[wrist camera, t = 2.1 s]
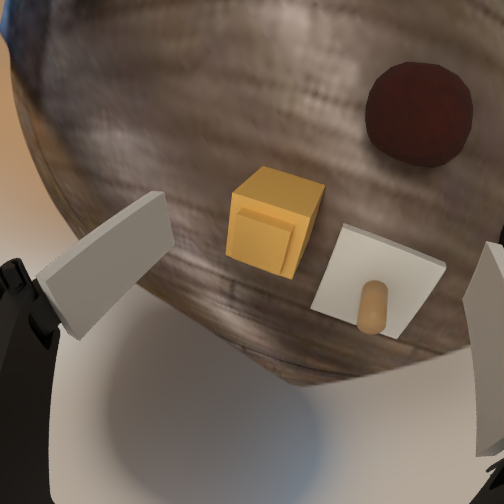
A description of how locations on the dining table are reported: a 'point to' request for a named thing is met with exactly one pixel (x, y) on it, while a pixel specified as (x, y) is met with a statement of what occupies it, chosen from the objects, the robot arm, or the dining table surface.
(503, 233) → the wine bottle
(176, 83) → the dining table surface
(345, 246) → the post plate
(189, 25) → the dining table surface
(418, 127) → the potato
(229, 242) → the orange block
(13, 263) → the robot arm
